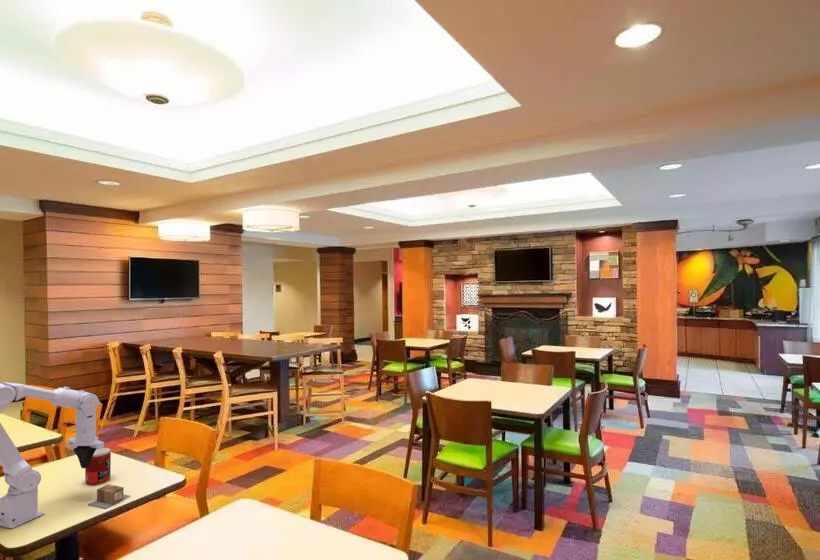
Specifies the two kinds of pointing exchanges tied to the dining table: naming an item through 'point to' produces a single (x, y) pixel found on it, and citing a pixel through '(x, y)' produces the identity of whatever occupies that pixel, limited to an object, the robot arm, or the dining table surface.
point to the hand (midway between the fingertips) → (85, 467)
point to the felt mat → (104, 505)
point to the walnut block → (110, 494)
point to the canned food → (99, 467)
